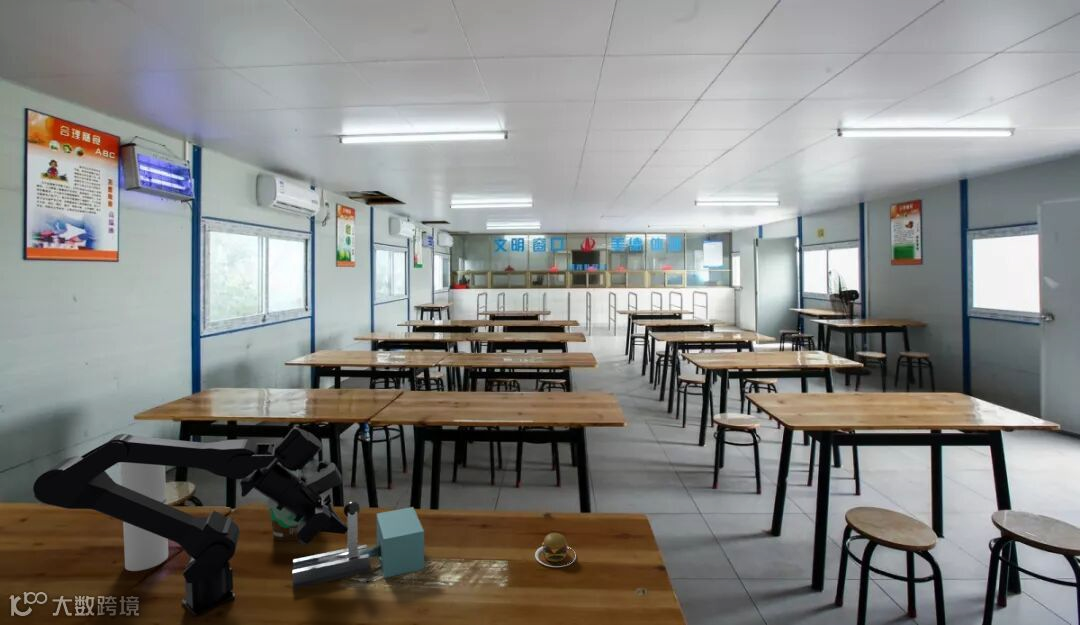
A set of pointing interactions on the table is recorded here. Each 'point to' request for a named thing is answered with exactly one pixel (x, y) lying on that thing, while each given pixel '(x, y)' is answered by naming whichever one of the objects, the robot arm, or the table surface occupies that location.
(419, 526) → the socket block
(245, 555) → the table surface
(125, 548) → the cylindrical container
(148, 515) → the robot arm
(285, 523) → the food container
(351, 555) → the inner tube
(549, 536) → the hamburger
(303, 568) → the outer sleeve
